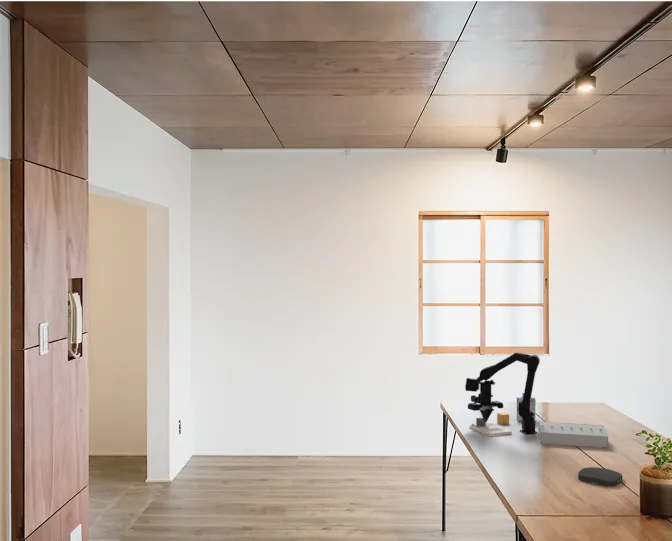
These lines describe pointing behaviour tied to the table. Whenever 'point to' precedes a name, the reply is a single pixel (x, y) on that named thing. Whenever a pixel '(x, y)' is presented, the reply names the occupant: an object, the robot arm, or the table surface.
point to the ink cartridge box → (533, 402)
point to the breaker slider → (480, 421)
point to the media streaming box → (600, 476)
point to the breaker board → (491, 429)
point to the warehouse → (572, 434)
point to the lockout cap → (503, 418)
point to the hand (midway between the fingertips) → (485, 422)
